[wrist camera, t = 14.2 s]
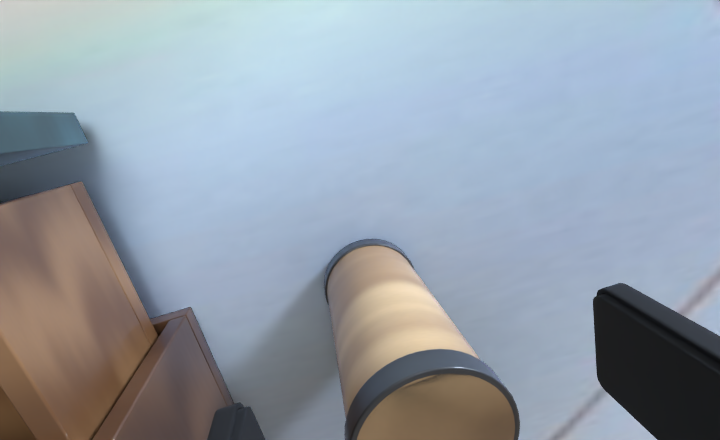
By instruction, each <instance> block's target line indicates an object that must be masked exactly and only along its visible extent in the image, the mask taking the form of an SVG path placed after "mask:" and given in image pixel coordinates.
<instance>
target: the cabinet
mask: <svg viewBox="0 0 720 440" xmlns="http://www.w3.org/2000/svg"><path fill="white" fill-rule="evenodd" d="M150 321H151V323H152V325H153V327H154V329H155V331H156V333H157V335H158V339H157V340H156V342H155V343H154V345H153V347H152V348H151V350H150V351H149V353H148V354H147V356H146V357H145V359H144V360H143V362H142V364H141V365H140V367H139V368H138V370H137V371H136V373H135V374H134V376H133V378H132V379H131V381H130V382H129V384H128V385H127V387H126V388H125V390H124V391H123V393H122V395H121V396H120V398H119V399H118V401H117V402H116V404H115V405H114V407H113V408H112V410H111V412H110V413H109V415H108V416H107V418H106V419H105V421H104V422H103V424H102V426H101V427H100V429H99V430H98V432H97V433H96V435H95V436H94V438H93V439H92V440H207V438H208V435H209V431H210V428H211V424H212V421H213V417H214V414H215V412H216V411H217V410H218V409H221V408H224V407H227V406H230V405H233V404H234V403H233V401H232V398H231V396H230V394H229V392H228V389H227V387H226V385H225V383H224V381H223V378H222V376H221V374H220V372H219V369H218V367H217V365H216V363H215V360H214V358H213V356H212V354H211V352H210V349H209V347H208V345H207V343H206V340H205V338H204V336H203V334H202V332H201V329H200V327H199V325H198V323H197V320H196V318H195V316H194V314H193V311H192V309H191V307H188V308H185V309H182V310H179V311H175V312H172V313H169V314H165V315H162V316H159V317H155V318H152V319H150Z"/></svg>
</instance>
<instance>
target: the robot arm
mask: <svg viewBox="0 0 720 440" xmlns="http://www.w3.org/2000/svg"><path fill="white" fill-rule="evenodd" d="M593 310H594V329H595V347H596V366H597V378H598V380H599V382H600V384H601V386H602V387H603V388H604V390H605V391H606V392H607V393H609V394H610V395H611V396H612V397H613V398H614V399H615V400H616V401H617V402H618V403H619V404H620V405H621V406H622V407H623V408H624V409H625V410H627V411H628V412H629V413H630V414H631V415H632V416H633V417H634V418H635V419H636V420H637V421H638V422H639V423H640V424H641V425H642V426H644V427H645V428H646V429H647V430H648V431H649V432H650V433H651V434H652V435H653V436H654V437H655V438H656V439H657V440H720V336H718V335H717V334H715V333H713V332H711V331H709V330H708V329H706V328H704V327H702V326H700V325H698V324H697V323H695V322H693V321H691V320H689V319H688V318H686V317H684V316H682V315H680V314H679V313H677V312H675V311H673V310H671V309H670V308H668V307H666V306H664V305H662V304H660V303H659V302H657V301H655V300H653V299H651V298H650V297H648V296H646V295H644V294H642V293H641V292H639V291H637V290H635V289H633V288H632V287H630V286H628V285H626V284H623V283H618V284H615V285H612V286H609V287H606V288H602V289H600V290H598V292H597V296H596V297H594V299H593ZM207 440H265V438H264V436H263V433H262V431H261V429H260V427H259V425H258V422H257V420H256V418H255V416H254V413H253V411H252V409H251V408H250V407H249V406H247V407H244V406H243V405H242V404H241V403H237V404H233V405H230V406H227V407H224V408H221V409H218V410H217V411H216V412H215V414H214V417H213V421H212V424H211V428H210V431H209V435H208V438H207Z"/></svg>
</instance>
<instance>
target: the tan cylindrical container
mask: <svg viewBox="0 0 720 440" xmlns="http://www.w3.org/2000/svg"><path fill="white" fill-rule="evenodd" d="M324 288H325V296H326V300H327V303H328V305H329V309H330V315H331V322H332V329H333V336H334V342H335V349H336V356H337V362H338V369H339V376H340V383H341V389H342V396H343V403H344V409H345V416H346V422H345V440H518V437H519V429H520V421H519V413H518V409H517V406H516V403H515V401H514V399H513V397H512V395H511V394H510V392H509V391H508V390H507V388H506V387H505V386H504V384H503V383H502V382H501V380H500V379H499V378H498V376H497V375H496V374H495V372H494V371H493V370H492V369H491V368H490V367H489V366H488V365H487V364H485V363H484V362H483V361H481V360H480V358H479V357H478V356H477V354H476V353H475V352H474V350H473V349H472V348H471V346H470V345H469V343H468V342H467V341H466V339H465V338H464V337H463V335H462V334H461V333H460V331H459V330H458V329H457V327H456V326H455V325H454V323H453V322H452V320H451V319H450V318H449V316H448V315H447V314H446V312H445V311H444V310H443V308H442V307H441V306H440V304H439V303H438V302H437V300H436V299H435V298H434V296H433V295H432V293H431V292H430V291H429V289H428V288H427V287H426V285H425V284H424V283H423V281H422V280H421V279H420V277H419V276H418V275H417V273H416V272H415V270H414V267H413V265H412V263H411V262H410V260H409V259H408V258H407V256H406V255H405V254H404V253H403V251H402V250H401V249H399V248H398V247H397V246H395V245H393V244H392V243H389V242H387V241H383V240H379V239H365V240H360V241H356V242H354V243H352V244H350V245H348V246H346V247H344V248H343V249H342V250H340V251H339V252H338V253H337V254H336V255H335V256H334V258H333V259H332V260H331V262H330V264H329V266H328V268H327V270H326V274H325V279H324Z"/></svg>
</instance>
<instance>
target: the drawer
mask: <svg viewBox="0 0 720 440" xmlns="http://www.w3.org/2000/svg"><path fill="white" fill-rule="evenodd" d="M87 143H88V141H87V139H86V137H85V135H84V133H83V131H82V128H81V126H80V124H79V122H78V120H77V118H76V116H75V114H74V113H58V112H3V111H0V166H4V165H8V164H11V163H15V162H19V161H23V160H27V159H30V158H34V157H38V156H42V155H46V154H49V153H53V152H57V151H61V150H65V149H68V148H72V147H76V146H80V145H84V144H87ZM157 339H158V335H157V333H156V331H155V329H154V327H153V325H152V323H151V321H150V319H149V317H148V315H147V313H146V311H145V309H144V307H143V304H142V302H141V300H140V298H139V296H138V294H137V292H136V290H135V288H134V286H133V284H132V282H131V280H130V278H129V276H128V274H127V272H126V270H125V268H124V266H123V264H122V262H121V260H120V258H119V256H118V254H117V252H116V250H115V248H114V246H113V244H112V241H111V239H110V237H109V235H108V233H107V231H106V229H105V227H104V225H103V223H102V221H101V219H100V217H99V215H98V213H97V211H96V209H95V207H94V205H93V203H92V201H91V199H90V197H89V195H88V193H87V191H86V189H85V187H84V185H83V183H82V182H81V181H80V182H76V183H72V184H69V185H65V186H61V187H57V188H54V189H50V190H46V191H43V192H39V193H35V194H32V195H28V196H24V197H20V198H17V199H13V200H9V201H6V202H2V203H0V440H92V439H93V438H94V436H95V435H96V433H97V432H98V430H99V429H100V427H101V426H102V424H103V422H104V421H105V419H106V418H107V416H108V415H109V413H110V412H111V410H112V408H113V407H114V405H115V404H116V402H117V401H118V399H119V398H120V396H121V395H122V393H123V391H124V390H125V388H126V387H127V385H128V384H129V382H130V381H131V379H132V378H133V376H134V374H135V373H136V371H137V370H138V368H139V367H140V365H141V364H142V362H143V360H144V359H145V357H146V356H147V354H148V353H149V351H150V350H151V348H152V347H153V345H154V343H155V342H156V340H157Z"/></svg>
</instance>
